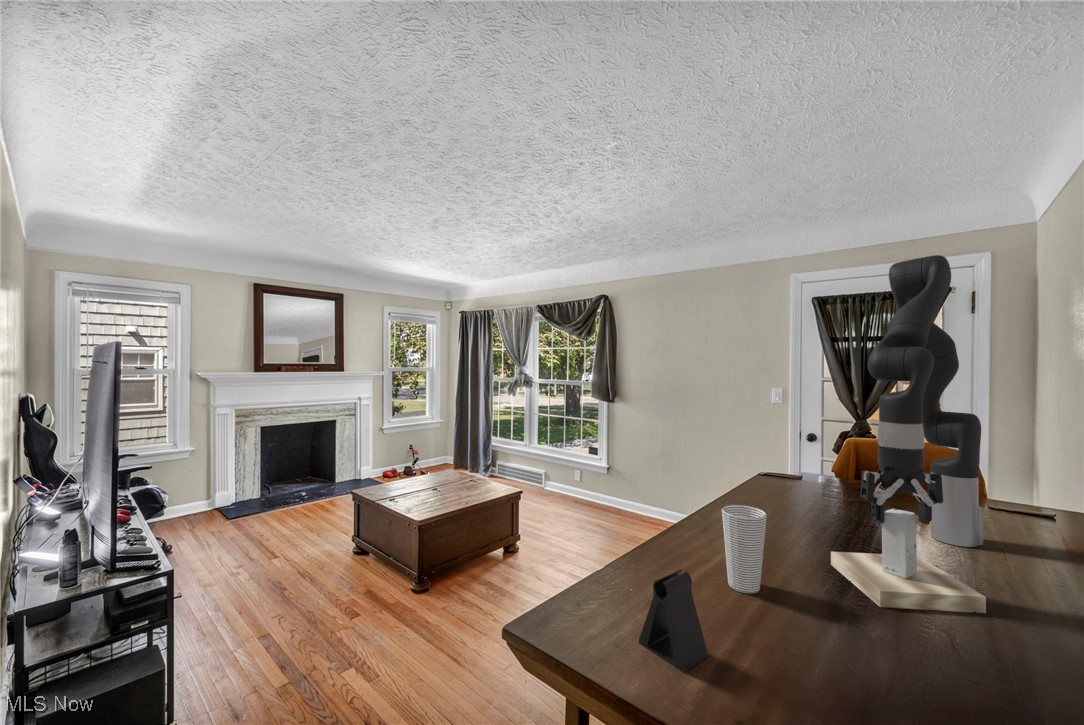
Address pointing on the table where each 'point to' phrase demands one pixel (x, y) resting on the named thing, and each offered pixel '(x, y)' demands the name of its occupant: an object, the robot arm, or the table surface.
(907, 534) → the skincare box
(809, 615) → the table surface
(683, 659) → the phone stand
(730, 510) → the cup
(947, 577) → the base block
